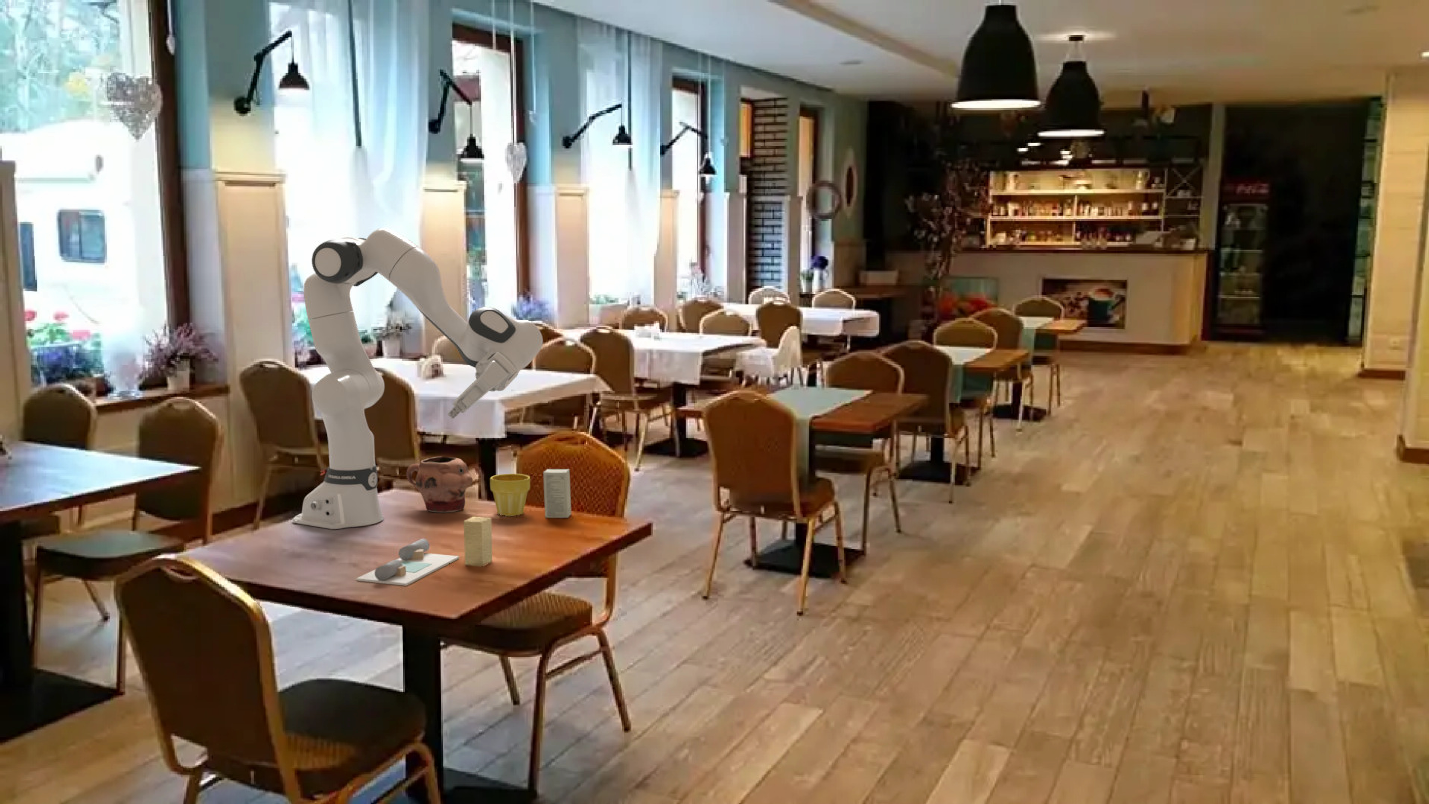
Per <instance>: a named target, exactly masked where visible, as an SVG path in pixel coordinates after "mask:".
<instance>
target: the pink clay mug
mask: <svg viewBox="0 0 1429 804" xmlns="http://www.w3.org/2000/svg"><path fill="white" fill-rule="evenodd" d="M414 472H417V474H416V476H415V482H414V480H413V478H412V475H413V473H414ZM405 474H406V479H407V481H408V482H409V483H410V484H411V485H412V486H414V487H415V488H416V489H417V491H419V493H420V495H421V497H422V499H423V502H424V504H425V509H426V510H427V511H429V512H433V513H452V512H453V513H454V512H458V511H461V510H463V509H465V506H466V497H465V496H466V495H465V493H466V490H467V489H468V488H469V487H470V486H471V485H472V483H473V481H474V479H473V477H472V476H471V473H470V471H469V468H468V466H467V463H466V462H464V461H463V460H462V459H461V458H457V457H450V456H434V457H428V458H426V459H422V460H421V461H420V462H419V463H412V464H411V465H409V466H408V468H407V470H406V473H405Z"/></svg>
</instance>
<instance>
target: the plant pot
mask: <svg viewBox="0 0 1429 804" xmlns="http://www.w3.org/2000/svg"><path fill="white" fill-rule="evenodd" d="M489 487H490V491H491V492H492V494H493V499H494V503H495V507H496V513H497V515H499V514H501V515H500V516H502V515H505V516H504V517H517V516H521V515H523V514H524V511H525V505H526V501H527V497H528V492H529V490H530V489H531V477H530V475H527V474H522V473H501V474H495V475H493V476H491V477H490V478H489ZM520 514H521V515H520ZM516 515H517V516H516Z"/></svg>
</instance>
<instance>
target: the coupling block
mask: <svg viewBox="0 0 1429 804" xmlns="http://www.w3.org/2000/svg"><path fill="white" fill-rule="evenodd" d="M492 533H493V532H492V518H491V517H483V516H482V517H481V516H472V517H469V518H467V519H465V520H463V539H464V541H463V542H464V543H463V544H464V546H463V547H464V565H465V566H470V565H471V566H470V567H472V566H473V567H481V566H483V567H485V566H486V565H485V564H487V563H489V564H490V563H492V562H493V542H492V541H493V539H492V538H493V536H492ZM491 561H492V562H491ZM484 565H485V566H484ZM487 565H488V564H487Z"/></svg>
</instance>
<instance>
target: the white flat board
mask: <svg viewBox="0 0 1429 804" xmlns="http://www.w3.org/2000/svg"><path fill="white" fill-rule="evenodd" d="M429 549H430V543H429V541H428V540H427V539H426V538H421V539H418V540H416V541H414V542H412V543H409V544H407V545H405V546H403V547H401V548H400V549H399V550H398V556H399V558H397V559H393V560H391V561H389V562H386V563H384V564H382V565H379V566H378V567H376V569H373V570H371V571H369V572H367V573H365V574H363V575H361V576H359V577H357V578H356V581H358V582H365V583H366V582H367V583H378V584H385V585H386V584H387V585H394V586H409V585H411V584H413V583H414V582H417V581H419V580H420V579H422V578H424V577H426V576H429V575H430V574H433V572H436V571H438V570H440V569H442V568H444V567H445V566H448V565H450V564H452V563H453V562H455V561H457V560H459V559H460V556H459V555H449V554H440V553H428V552H427V551H428V550H429ZM425 552H426V553H425ZM449 563H450V564H449Z"/></svg>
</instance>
